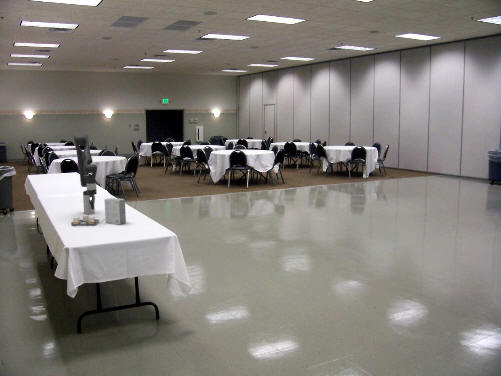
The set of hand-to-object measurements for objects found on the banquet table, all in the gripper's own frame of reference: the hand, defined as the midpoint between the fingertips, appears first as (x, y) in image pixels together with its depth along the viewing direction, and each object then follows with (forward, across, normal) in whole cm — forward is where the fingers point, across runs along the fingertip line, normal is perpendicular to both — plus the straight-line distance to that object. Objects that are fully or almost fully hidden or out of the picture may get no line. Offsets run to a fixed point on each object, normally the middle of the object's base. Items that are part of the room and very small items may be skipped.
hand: (92, 209), depth 403 cm
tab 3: (+9, +10, +1) cm, 14 cm away
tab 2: (+9, +4, -5) cm, 11 cm away
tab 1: (+9, +10, -11) cm, 18 cm away
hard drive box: (+11, +5, +19) cm, 23 cm away
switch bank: (+11, +7, -5) cm, 14 cm away
